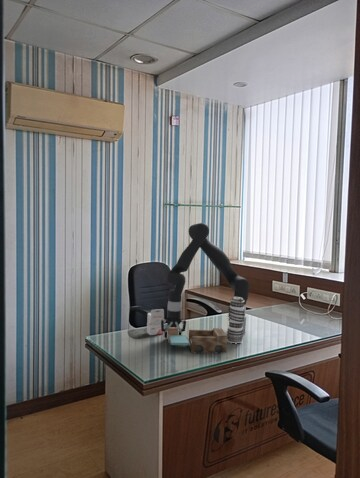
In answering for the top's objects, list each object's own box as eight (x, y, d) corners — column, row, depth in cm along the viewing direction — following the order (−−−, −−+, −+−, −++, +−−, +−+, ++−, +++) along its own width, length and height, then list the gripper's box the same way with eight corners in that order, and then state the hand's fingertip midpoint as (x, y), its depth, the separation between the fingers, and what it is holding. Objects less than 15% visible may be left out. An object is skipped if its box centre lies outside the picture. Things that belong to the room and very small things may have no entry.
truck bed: (220, 343, 220) (221, 327, 219) (226, 353, 206) (227, 336, 205) (187, 343, 218) (188, 327, 217) (191, 353, 204) (192, 335, 203)
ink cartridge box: (159, 331, 235) (161, 306, 234) (163, 333, 231) (164, 308, 230) (146, 332, 232) (147, 307, 230) (149, 335, 227) (151, 310, 226)
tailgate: (187, 334, 216) (169, 334, 215) (190, 343, 204) (171, 342, 203) (186, 337, 216) (168, 337, 215) (190, 345, 204) (171, 345, 203)
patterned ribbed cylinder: (223, 339, 228) (226, 296, 225) (237, 338, 231) (240, 295, 229) (231, 344, 219) (234, 300, 217) (245, 343, 223) (249, 299, 220)
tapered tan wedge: (176, 338, 224) (177, 326, 224) (177, 343, 217) (178, 330, 217) (167, 338, 224) (168, 326, 223) (168, 343, 217) (169, 330, 216)
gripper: (186, 307, 224) (184, 336, 225) (160, 306, 222) (159, 336, 223) (188, 311, 216) (186, 341, 218) (161, 310, 214) (160, 340, 216)
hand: (172, 338), depth 220 cm, fingers open, 6 cm apart
